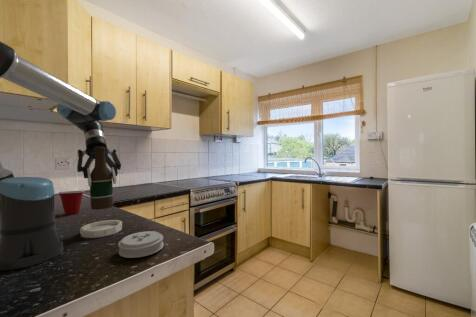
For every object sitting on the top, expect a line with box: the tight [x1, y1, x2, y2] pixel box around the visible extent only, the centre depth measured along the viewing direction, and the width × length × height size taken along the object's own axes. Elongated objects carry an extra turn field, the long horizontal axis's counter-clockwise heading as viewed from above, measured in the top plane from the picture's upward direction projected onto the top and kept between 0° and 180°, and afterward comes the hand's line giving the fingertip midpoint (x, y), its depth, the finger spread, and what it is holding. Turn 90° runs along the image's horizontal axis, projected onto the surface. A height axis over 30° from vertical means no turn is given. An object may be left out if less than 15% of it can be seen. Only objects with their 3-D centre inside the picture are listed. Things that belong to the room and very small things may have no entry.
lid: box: [117, 230, 164, 259], centre depth 68 cm, size 13×13×5 cm
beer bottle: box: [89, 147, 114, 211], centre depth 87 cm, size 8×8×24 cm
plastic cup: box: [58, 190, 85, 216], centre depth 115 cm, size 11×11×12 cm
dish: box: [79, 219, 123, 239], centre depth 86 cm, size 14×14×2 cm
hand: (102, 182), depth 84 cm, fingers closed on beer bottle, 7 cm apart
